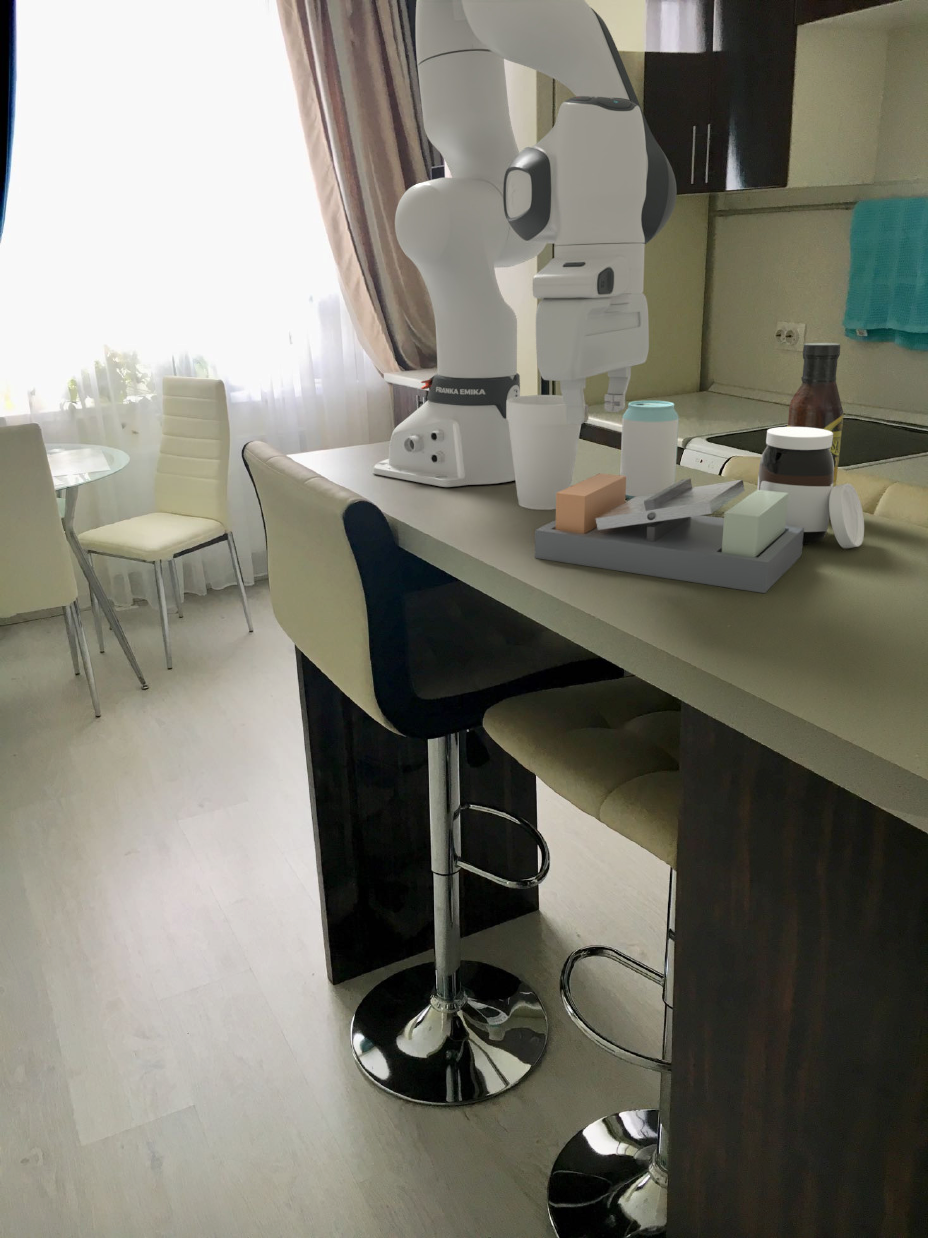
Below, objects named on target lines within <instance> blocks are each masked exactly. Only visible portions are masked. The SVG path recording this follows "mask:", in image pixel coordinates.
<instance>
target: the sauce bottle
mask: <svg viewBox="0 0 928 1238" xmlns="http://www.w3.org/2000/svg"><path fill="white" fill-rule="evenodd" d="M840 353H841V343H834V342H813V343H812V342H811V343H809V342H808V343H804V344H803V349H802V358H803V366H802V376H801V378H800V379H801V382H802V383H801V385H800V386H799V388H798V389H797V391H796V392H795V393H794V395H793V396H792V399H790V402H789V407H788V420H787V421H788V422H787V425H786V427H809V428H818V429H824V430H828V431H831V432H832V433H833V440H832V446H831V448H830V451H831V454H832V457H833V462H834V480H833V487H834V486H837V477H838V470H839V461H840V451H841V441H842V430H843V423H844V414H845V413H844V410H843V407H842V406H843V405H842V401H841V398H840V392H839V389H838V384H837V369H838V368H837V367H838V360H839V357H840V355H841V354H840Z"/></svg>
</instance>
